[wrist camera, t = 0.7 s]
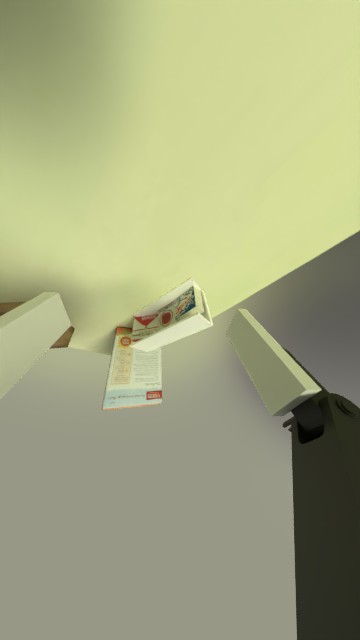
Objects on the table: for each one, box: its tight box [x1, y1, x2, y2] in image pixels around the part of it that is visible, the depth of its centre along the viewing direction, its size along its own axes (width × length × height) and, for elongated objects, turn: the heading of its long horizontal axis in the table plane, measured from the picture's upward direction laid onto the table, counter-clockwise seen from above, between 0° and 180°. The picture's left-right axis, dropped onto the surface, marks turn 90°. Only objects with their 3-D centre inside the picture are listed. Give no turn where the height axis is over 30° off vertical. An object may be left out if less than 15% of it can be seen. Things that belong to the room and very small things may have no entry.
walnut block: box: [0, 302, 74, 348], centre depth 32 cm, size 12×12×6 cm
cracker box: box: [102, 327, 162, 410], centre depth 39 cm, size 14×6×21 cm, turn 62°
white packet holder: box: [129, 278, 213, 352], centre depth 31 cm, size 20×6×9 cm, turn 127°
